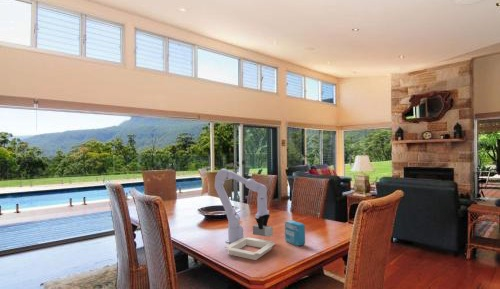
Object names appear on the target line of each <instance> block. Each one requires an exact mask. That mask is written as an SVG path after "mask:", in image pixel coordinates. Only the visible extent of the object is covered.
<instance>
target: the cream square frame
mask: <svg viewBox="0 0 500 289" xmlns="http://www.w3.org/2000/svg"><path fill="white" fill-rule="evenodd" d="M275 245H276V243H274V241H272V240H267V239H261V238H254V237H243V238H241V239H239V240H237V241H235V242H233V243H229V244H228V245H225V247H224V248H225V250H226V251H228V255H229V256H235V257H239V258H244V259H249V260H252V261H253V260H254V261H257V260H258V259H259V258H261V257H262V256H264V255H265V254H267V253H268V252H270V251H271V250H272V247H273V246H275ZM245 246H250V247H255V248H260V249H258V250H257V251H250V250H244V249H242V248H245Z"/></svg>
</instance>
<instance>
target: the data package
mask: <svg viewBox="0 0 500 289" xmlns="http://www.w3.org/2000/svg"><path fill="white" fill-rule="evenodd" d="M284 234H285V236H284V237H285V238H284V239H285V241H286V243H290V244H292V245H294V246H297V247H301V246H303V245H306V226H305V224H304V223H302V222H299V221H295V220H287V221H285V223H284Z"/></svg>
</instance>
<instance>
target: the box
mask: <svg viewBox="0 0 500 289" xmlns="http://www.w3.org/2000/svg"><path fill="white" fill-rule="evenodd" d="M273 231H274V228H273V226H271V225H267V226H265V225H263V229H259V227H258V223H257V224H253V225H252V235H256V236H261V237H268V238H270V237H272V236H273V234H274V232H273Z"/></svg>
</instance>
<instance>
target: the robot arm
mask: <svg viewBox="0 0 500 289" xmlns="http://www.w3.org/2000/svg"><path fill="white" fill-rule="evenodd" d="M214 176H215V177H214V178H215V179H214V184H213V185H214V186H213V187H214V189H215V191H216V193H217V196H218V197H219V200H220V202H221V204H222V207H223V209H224V211H225V213H226V218H227V220H228V221H227V224H228V227H227V228H228V230H227V231H228V233H227V234H228V239H227V240H226V241H225V243H229V244H231V243H233V242H235V241H237V240H239V239H241V238H244V227H243V226H242V224H239V223H240V220H241V217H240V215H239V214H238V213H237V212H236V210H235V209H234V207H233V205H232V202H231V200H230V198H229V196H228V193H227V191H226V189H225V187H224V184H225V182H226V180H234V181H236V182H239V183H242V184H243V185H244V186H245V188H247V189H249V190H251V191H253V192H256V193H257V200H256V201H257V212H256V213H255V215H254V220H255V221H256V223H257V224H258V227H259V229H263V225H265V226H268V221H269V219H270V217H271V216H270V210H269V209H268V195H267V193H268V189H267V186H266V185H264V183H261V182H258V181H256V180H255V179H254V178H248V179H247V178H246V177H243V176H242V175H240V174H238V173H236V172H235V171H232V170H229V169H227V168H221V169H219V170H218V171H217V173H216V174H215V175H214Z"/></svg>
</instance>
